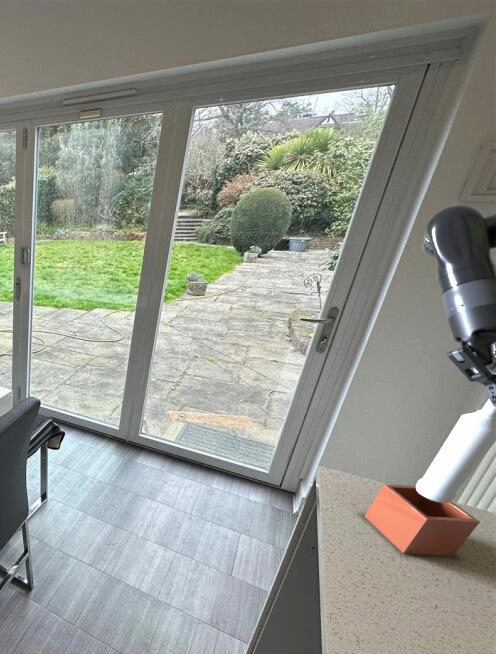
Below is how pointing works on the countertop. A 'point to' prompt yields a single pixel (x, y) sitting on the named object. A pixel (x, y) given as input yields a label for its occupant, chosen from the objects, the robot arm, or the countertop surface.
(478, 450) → the bottle
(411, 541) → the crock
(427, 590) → the countertop surface
